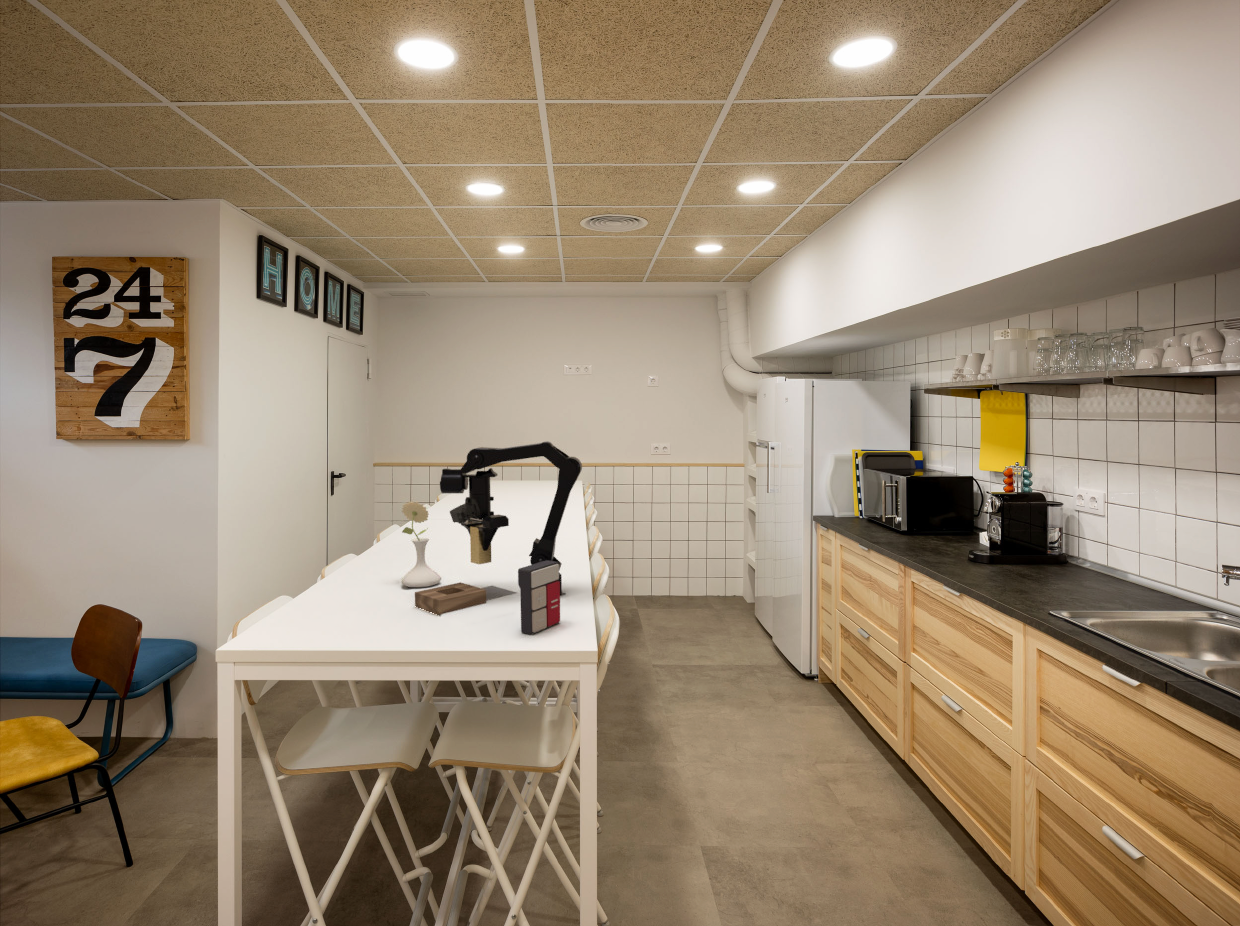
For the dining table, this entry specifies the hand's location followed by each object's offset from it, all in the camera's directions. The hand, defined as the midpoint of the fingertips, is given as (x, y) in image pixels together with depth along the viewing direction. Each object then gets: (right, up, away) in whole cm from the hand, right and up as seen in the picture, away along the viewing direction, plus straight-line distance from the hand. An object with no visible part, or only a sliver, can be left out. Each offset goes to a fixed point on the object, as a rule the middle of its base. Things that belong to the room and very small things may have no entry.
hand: (480, 549), depth 189 cm
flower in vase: (-21, -13, +14) cm, 28 cm away
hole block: (-6, -14, -8) cm, 17 cm away
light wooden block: (0, -4, 0) cm, 4 cm away
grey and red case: (+20, -15, -27) cm, 37 cm away
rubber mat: (+1, -13, +2) cm, 13 cm away
